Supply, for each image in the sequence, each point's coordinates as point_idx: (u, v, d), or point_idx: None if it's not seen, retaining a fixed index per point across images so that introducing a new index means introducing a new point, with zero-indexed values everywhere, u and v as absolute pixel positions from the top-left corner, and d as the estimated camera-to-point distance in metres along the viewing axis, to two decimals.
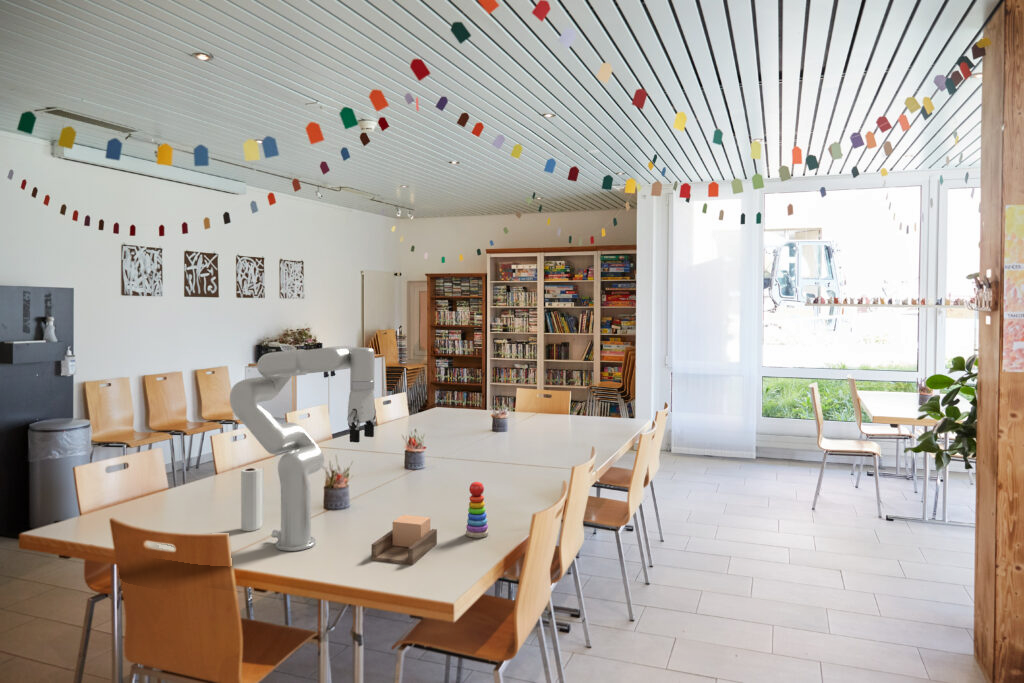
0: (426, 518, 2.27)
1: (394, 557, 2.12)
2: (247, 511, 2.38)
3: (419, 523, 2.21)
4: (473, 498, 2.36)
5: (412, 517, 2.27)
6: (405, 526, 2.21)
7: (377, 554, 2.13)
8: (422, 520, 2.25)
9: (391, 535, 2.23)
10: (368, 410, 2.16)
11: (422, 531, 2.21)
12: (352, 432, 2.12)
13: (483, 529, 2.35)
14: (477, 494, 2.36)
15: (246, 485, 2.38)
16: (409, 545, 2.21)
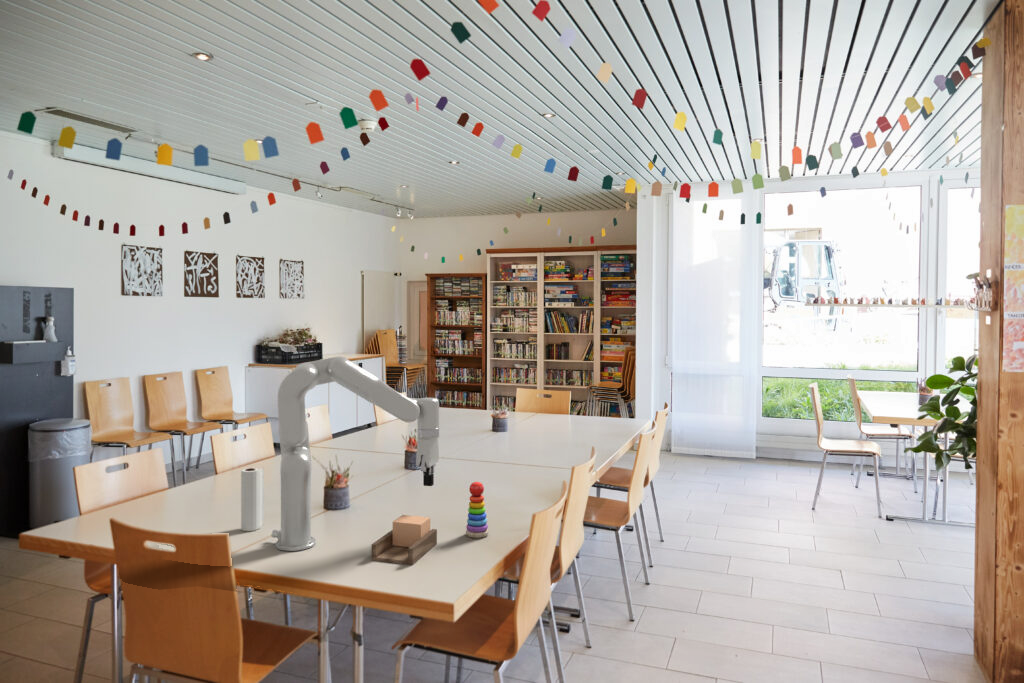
0: (426, 518, 2.27)
1: (394, 557, 2.12)
2: (247, 511, 2.38)
3: (419, 523, 2.21)
4: (473, 498, 2.36)
5: (412, 517, 2.27)
6: (405, 526, 2.21)
7: (377, 554, 2.13)
8: (422, 520, 2.25)
9: (391, 535, 2.23)
10: (434, 455, 2.37)
11: (422, 531, 2.21)
12: (426, 477, 2.36)
13: (483, 529, 2.35)
14: (477, 494, 2.36)
15: (246, 485, 2.38)
16: (409, 545, 2.21)
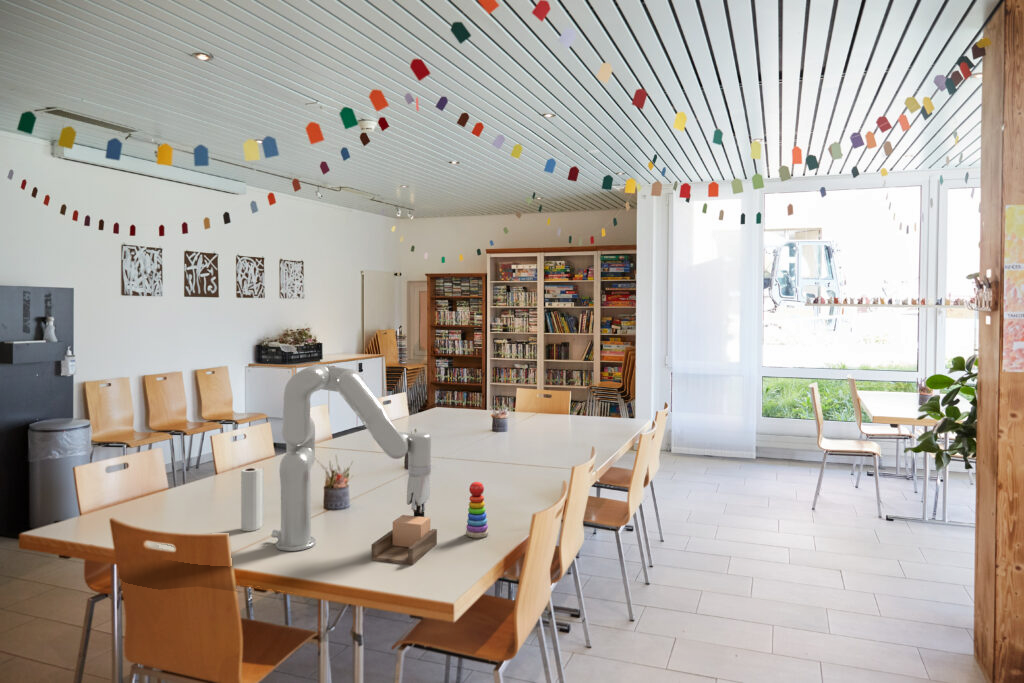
0: (426, 518, 2.27)
1: (394, 557, 2.12)
2: (247, 511, 2.38)
3: (419, 523, 2.21)
4: (473, 498, 2.36)
5: (412, 517, 2.27)
6: (405, 526, 2.21)
7: (377, 554, 2.13)
8: (422, 520, 2.25)
9: (391, 535, 2.23)
10: (425, 492, 2.30)
11: (422, 531, 2.21)
12: (416, 515, 2.30)
13: (483, 529, 2.35)
14: (477, 494, 2.36)
15: (246, 485, 2.38)
16: (409, 545, 2.21)
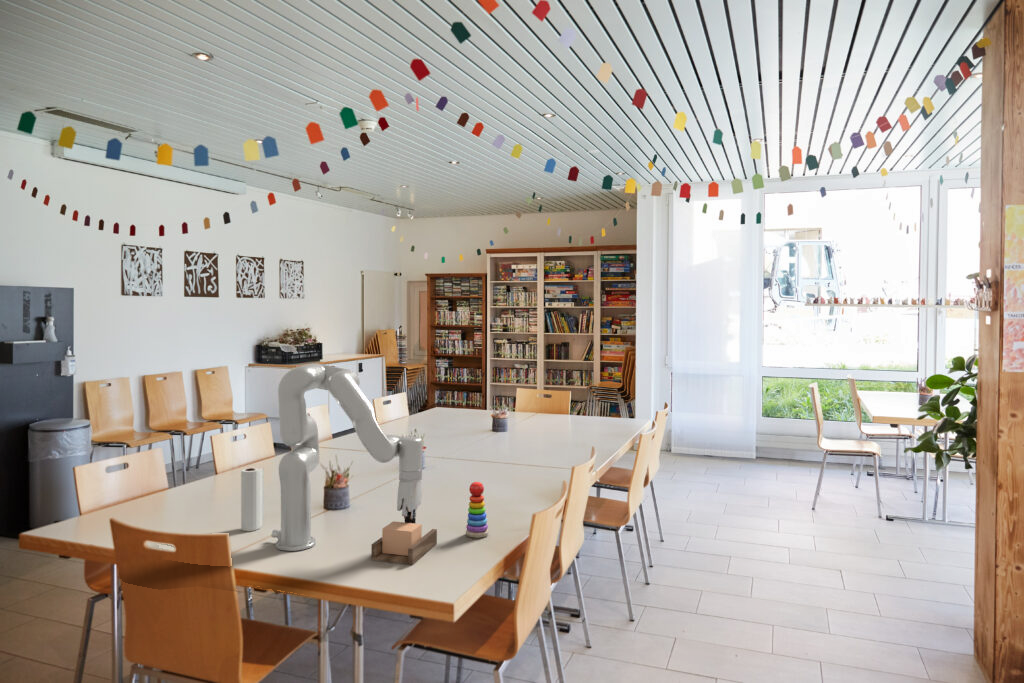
0: (417, 525, 2.19)
1: (394, 557, 2.12)
2: (247, 511, 2.38)
3: (410, 530, 2.14)
4: (473, 498, 2.36)
5: (403, 524, 2.20)
6: (396, 533, 2.14)
7: (377, 554, 2.13)
8: (412, 527, 2.17)
9: None
10: (416, 498, 2.23)
11: (413, 538, 2.14)
12: (407, 521, 2.23)
13: (483, 529, 2.35)
14: (477, 494, 2.36)
15: (246, 485, 2.38)
16: (399, 553, 2.14)
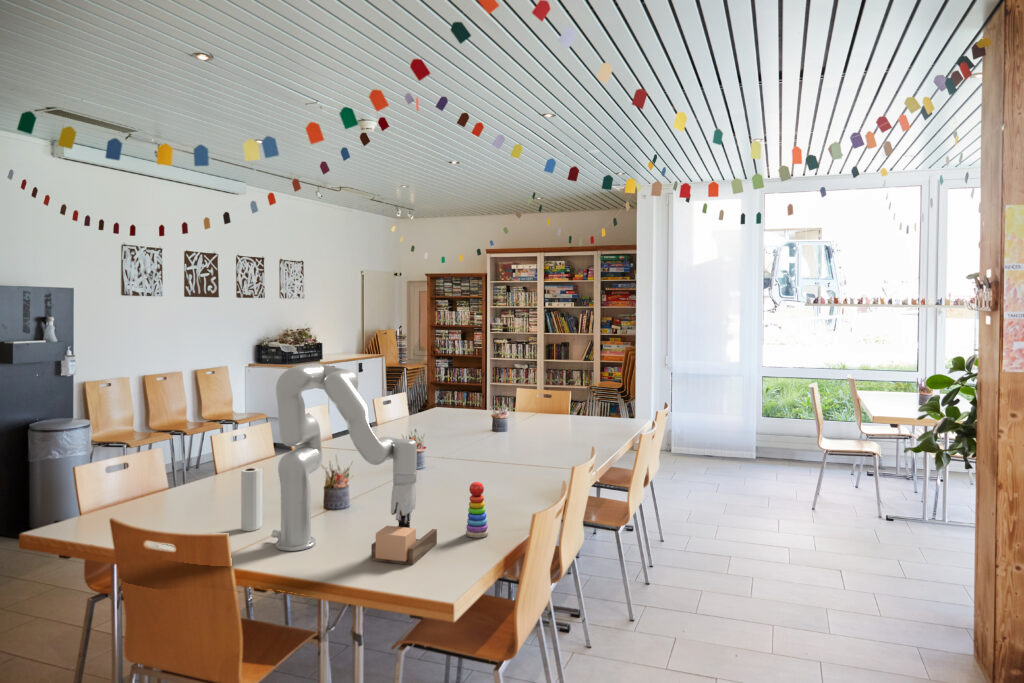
0: (411, 529, 2.15)
1: None
2: (247, 511, 2.38)
3: (403, 535, 2.09)
4: (473, 498, 2.36)
5: (397, 528, 2.16)
6: (389, 537, 2.10)
7: None
8: (406, 531, 2.13)
9: None
10: (410, 502, 2.18)
11: (407, 543, 2.10)
12: (401, 525, 2.18)
13: (483, 529, 2.35)
14: (477, 494, 2.36)
15: (246, 485, 2.38)
16: (393, 558, 2.10)
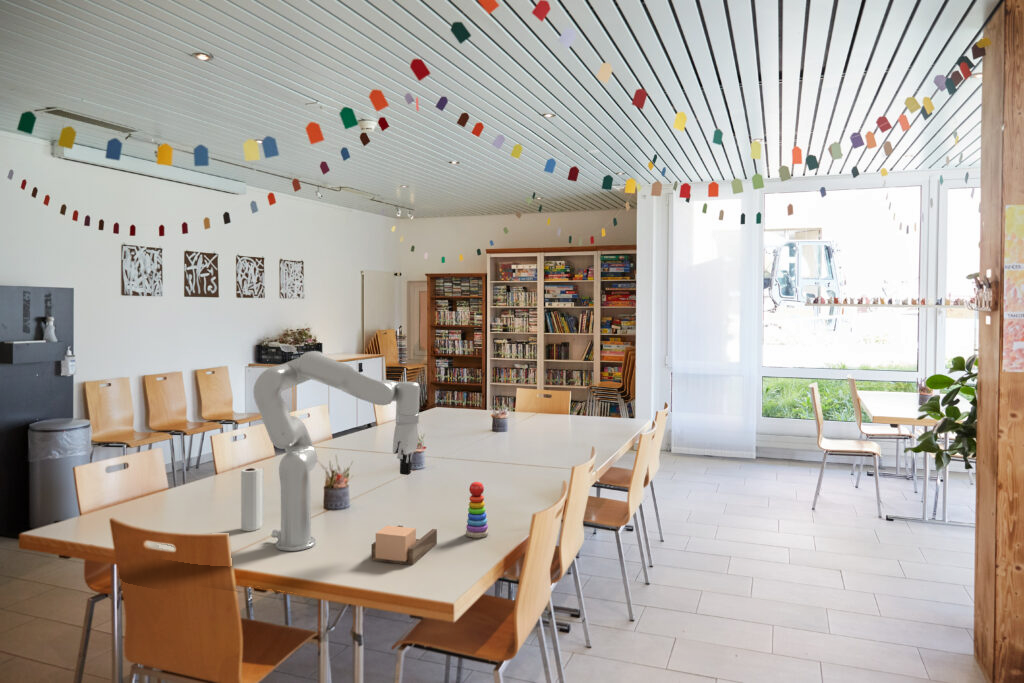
0: (411, 529, 2.15)
1: None
2: (247, 511, 2.38)
3: (403, 535, 2.09)
4: (473, 498, 2.36)
5: (396, 528, 2.16)
6: (389, 537, 2.10)
7: None
8: (406, 531, 2.13)
9: None
10: (412, 442, 2.25)
11: (407, 543, 2.09)
12: (402, 465, 2.24)
13: (483, 529, 2.35)
14: (477, 494, 2.36)
15: (246, 485, 2.38)
16: (393, 558, 2.10)
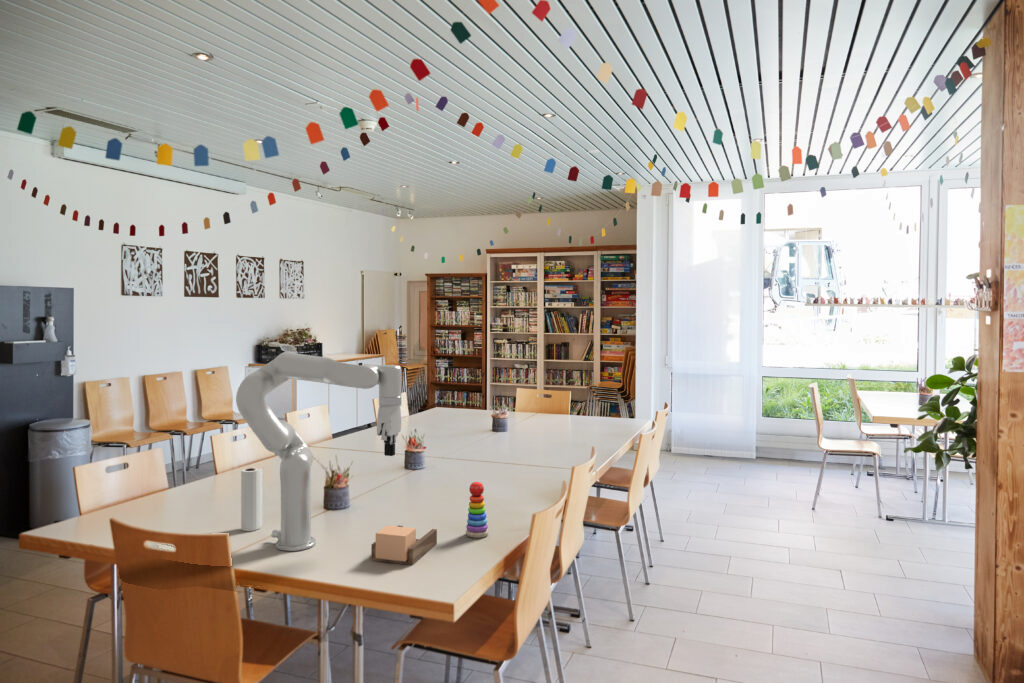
0: (411, 529, 2.15)
1: None
2: (247, 511, 2.38)
3: (403, 535, 2.09)
4: (473, 498, 2.36)
5: (396, 528, 2.16)
6: (389, 537, 2.10)
7: None
8: (406, 531, 2.13)
9: None
10: (396, 424, 2.29)
11: (407, 543, 2.09)
12: (387, 446, 2.29)
13: (483, 529, 2.35)
14: (477, 494, 2.36)
15: (246, 485, 2.38)
16: (393, 558, 2.10)
